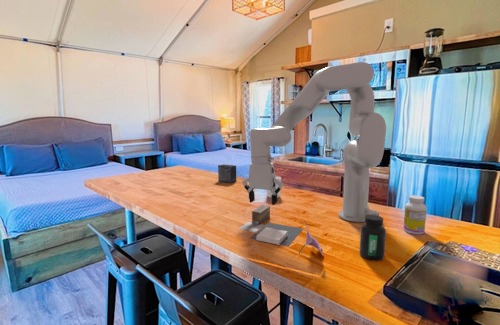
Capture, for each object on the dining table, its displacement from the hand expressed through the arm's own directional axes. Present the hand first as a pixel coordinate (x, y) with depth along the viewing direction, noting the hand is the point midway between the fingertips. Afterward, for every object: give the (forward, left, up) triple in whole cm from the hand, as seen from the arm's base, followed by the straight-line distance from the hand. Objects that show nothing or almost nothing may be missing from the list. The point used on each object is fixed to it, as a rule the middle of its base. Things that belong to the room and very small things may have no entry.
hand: (263, 202), depth 112 cm
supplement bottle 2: (-53, -14, -8) cm, 56 cm away
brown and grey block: (+1, +4, -8) cm, 9 cm away
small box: (+50, -53, -8) cm, 74 cm away
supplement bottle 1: (-41, +12, -8) cm, 43 cm away
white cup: (+10, -34, -8) cm, 37 cm away
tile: (-10, +10, -6) cm, 16 cm away
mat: (-10, +10, -8) cm, 16 cm away
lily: (-25, +18, -8) cm, 32 cm away
